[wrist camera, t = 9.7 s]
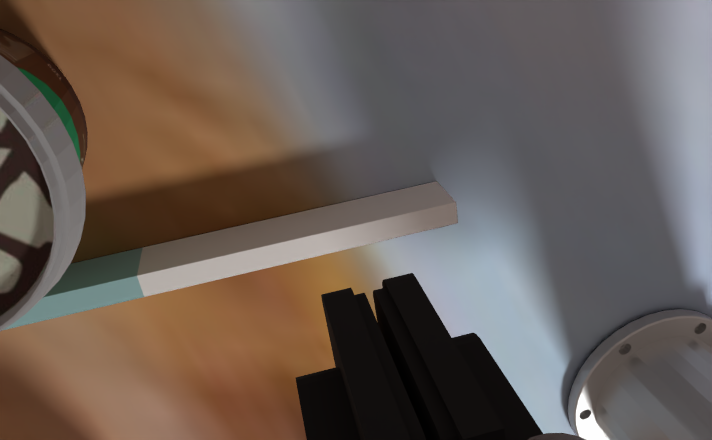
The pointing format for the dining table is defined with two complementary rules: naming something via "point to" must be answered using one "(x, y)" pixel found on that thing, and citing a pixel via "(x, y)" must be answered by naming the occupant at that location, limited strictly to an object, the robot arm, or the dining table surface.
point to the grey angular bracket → (243, 249)
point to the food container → (37, 176)
